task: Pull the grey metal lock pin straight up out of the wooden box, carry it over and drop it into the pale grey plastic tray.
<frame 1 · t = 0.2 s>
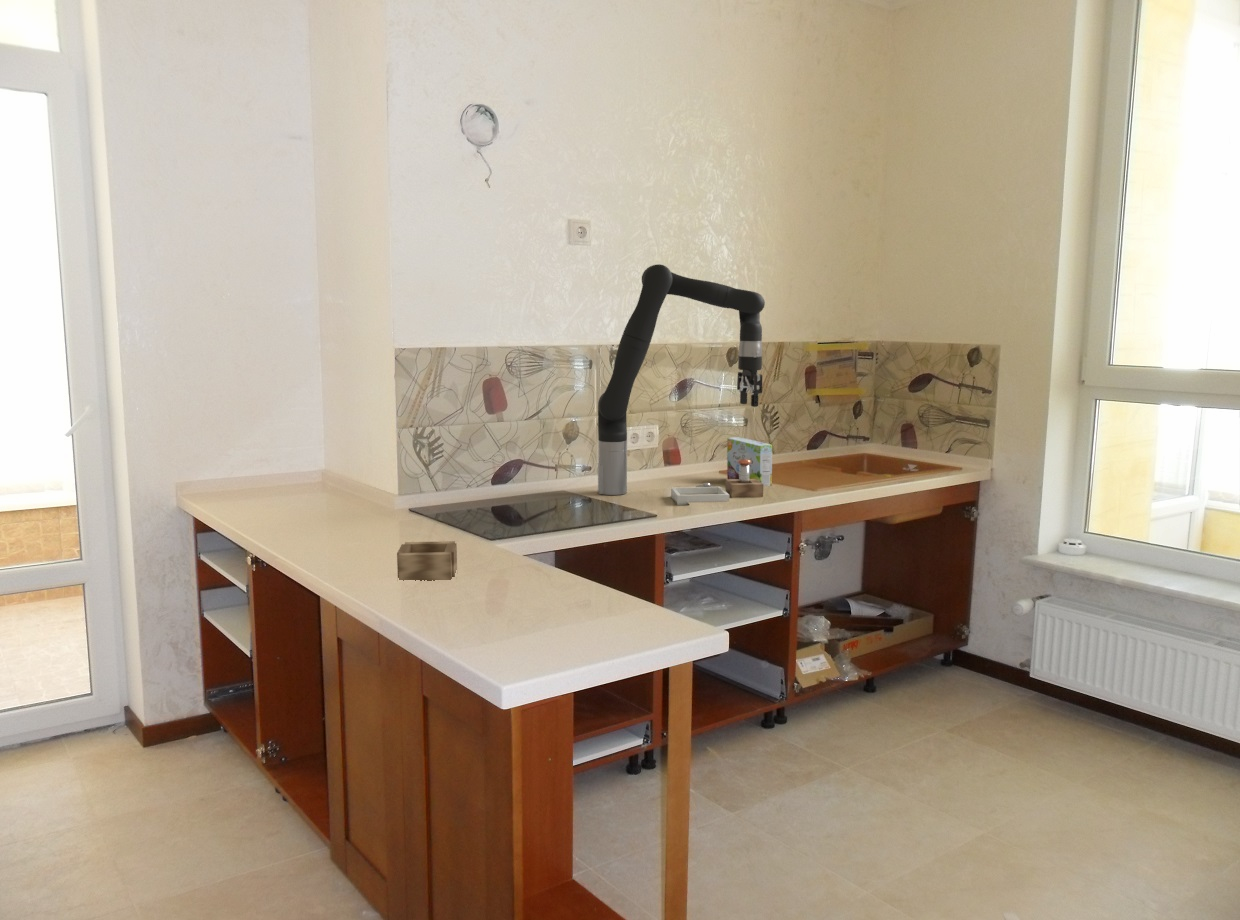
hand: (748, 405, 312), 28 cm above the worktop, fingers open, 8 cm apart
pulley: (706, 494, 310), on the worktop
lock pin: (743, 494, 305), point 1 cm above the worktop, touching wooden box
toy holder: (428, 579, 211), on the worktop
wooden box: (743, 497, 306), on the worktop
tray: (699, 500, 300), on the worktop
snack box: (748, 484, 330), on the worktop
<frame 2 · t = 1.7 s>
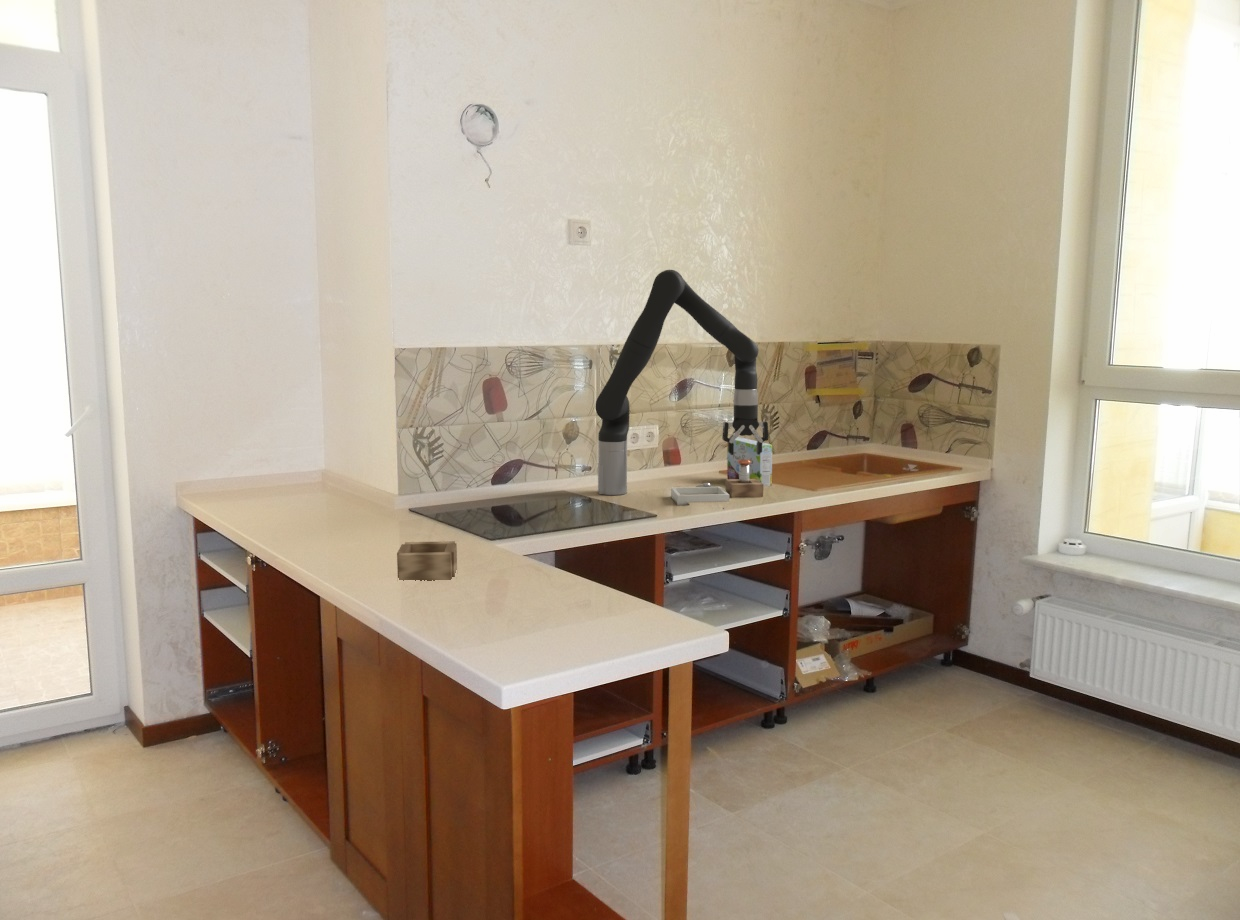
hand: (745, 454, 303), 14 cm above the worktop, fingers open, 8 cm apart
nothing on the worktop moved.
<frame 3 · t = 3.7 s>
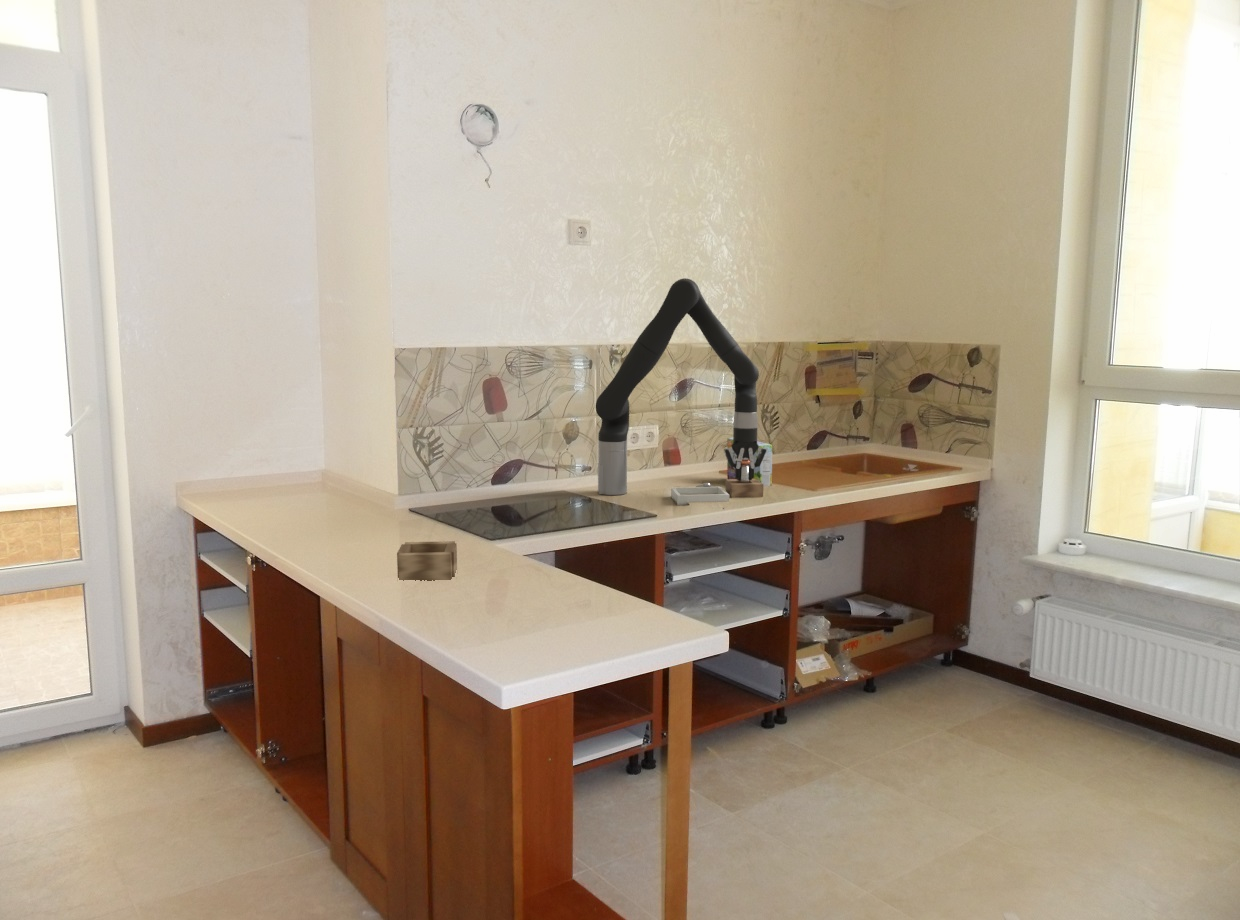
hand: (744, 479, 305), 6 cm above the worktop, fingers closed on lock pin, 3 cm apart
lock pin: (743, 494, 305), point 1 cm above the worktop, touching gripper, wooden box
everything else where it was.
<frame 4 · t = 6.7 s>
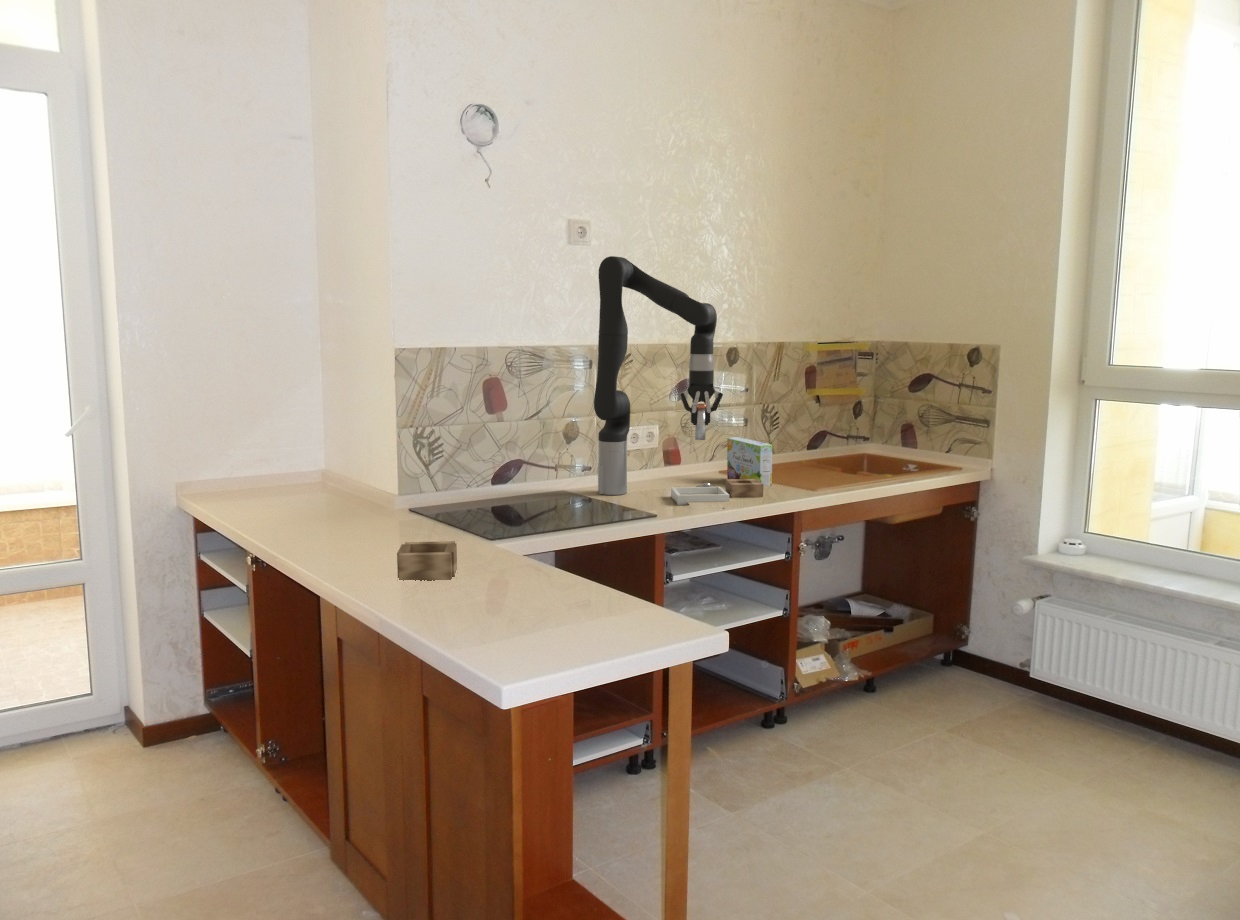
hand: (700, 424, 297), 24 cm above the worktop, fingers closed on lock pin, 3 cm apart
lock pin: (700, 439, 297), point 19 cm above the worktop, touching gripper
everything else where it was.
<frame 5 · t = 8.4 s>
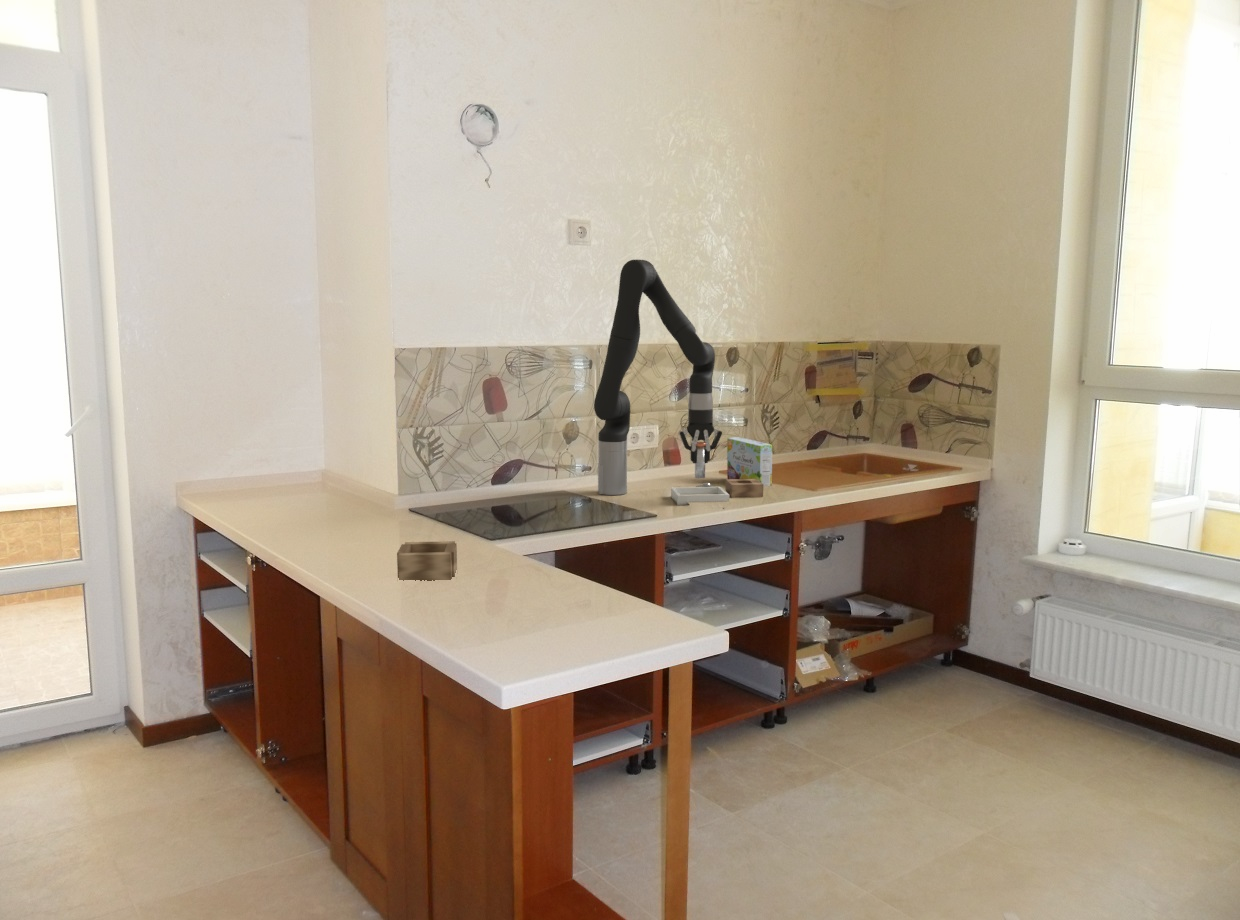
hand: (700, 462, 298), 12 cm above the worktop, fingers closed on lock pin, 3 cm apart
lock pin: (700, 477, 299), point 7 cm above the worktop, touching gripper
everything else where it was.
when the fingers open (8 cm above the worktop, at t = 9.9 s): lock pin drops 2 cm, resting on tray.
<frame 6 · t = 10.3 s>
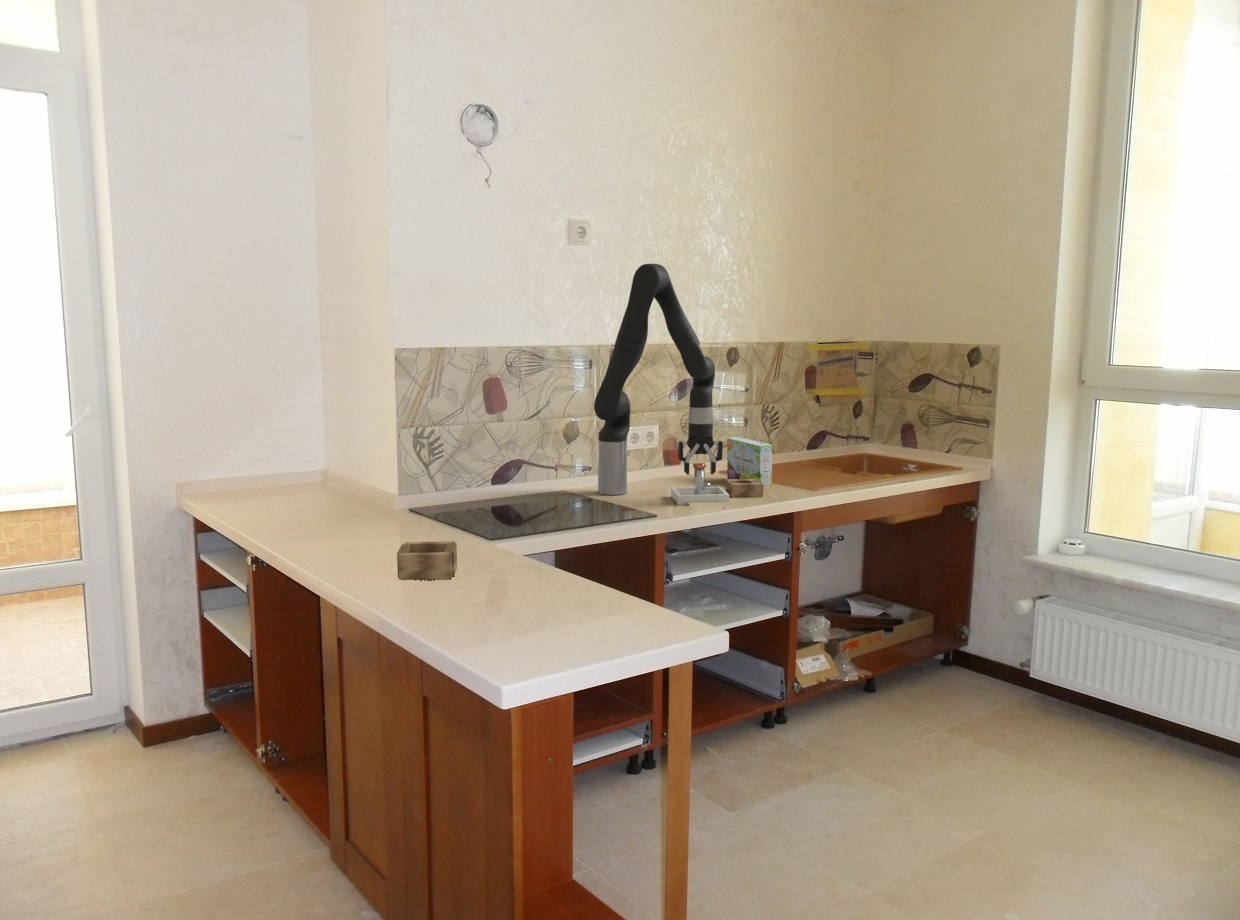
hand: (699, 474, 299), 8 cm above the worktop, fingers open, 7 cm apart
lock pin: (699, 498, 300), point 1 cm above the worktop, touching tray
everything else where it was.
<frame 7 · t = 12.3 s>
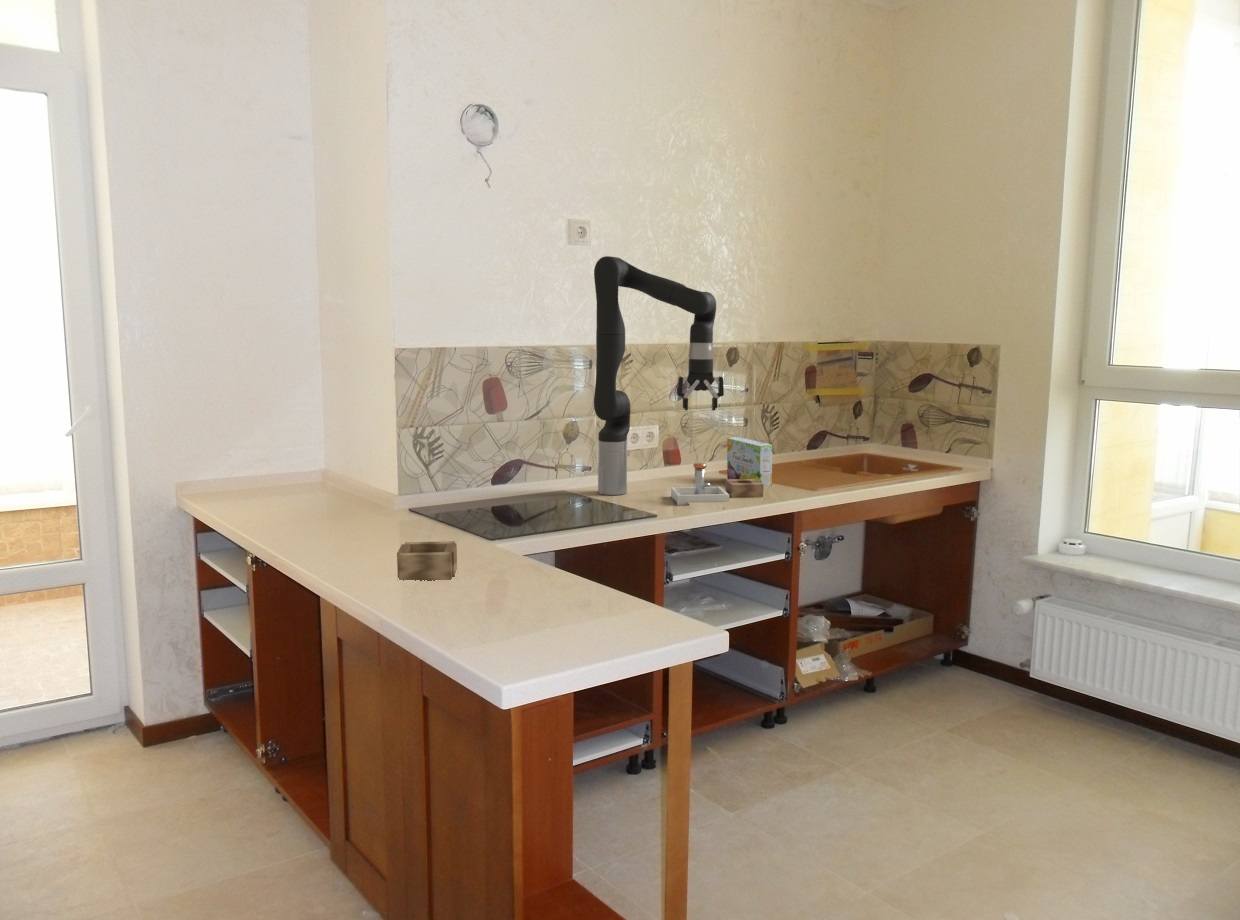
hand: (699, 410, 297), 28 cm above the worktop, fingers open, 8 cm apart
nothing on the worktop moved.
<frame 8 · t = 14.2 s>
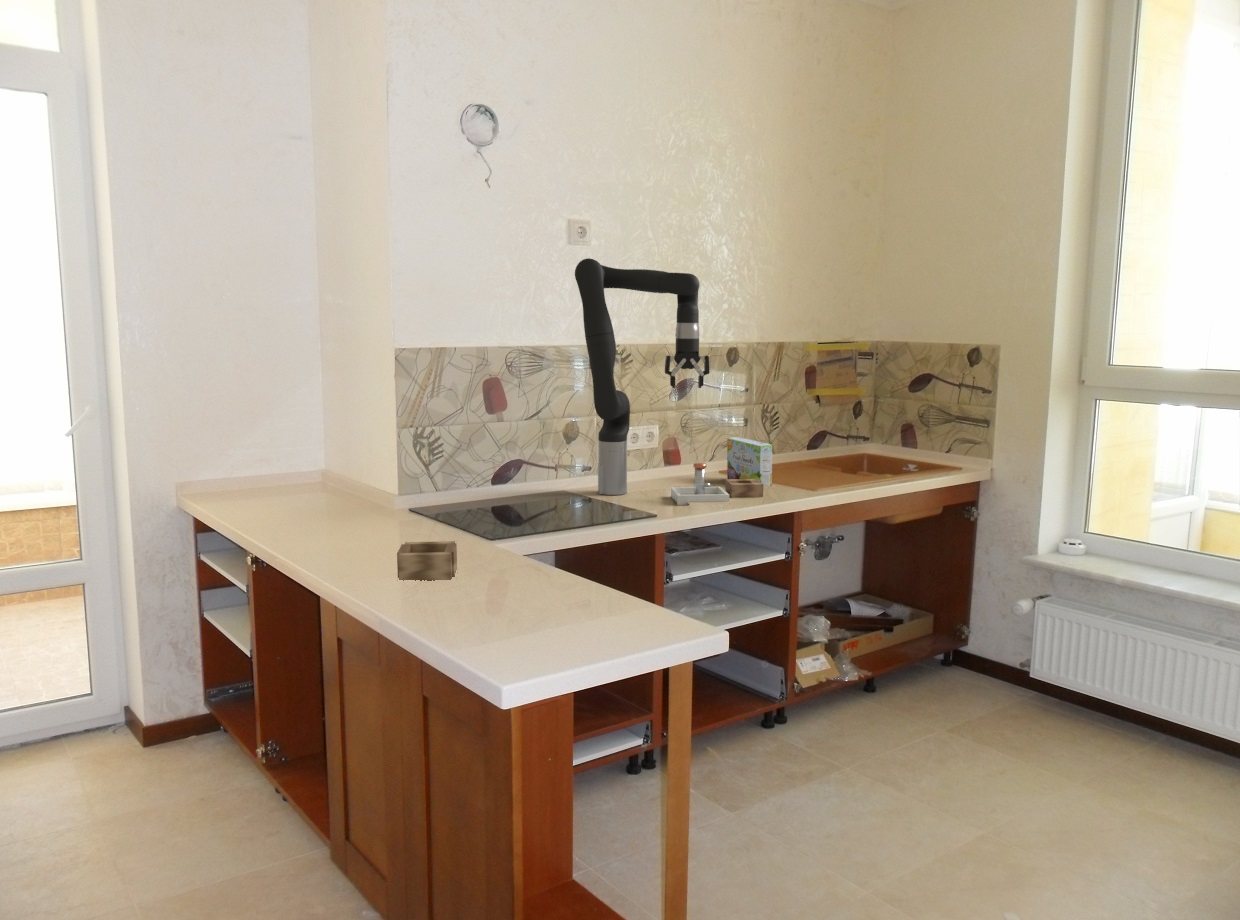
hand: (686, 387, 310), 34 cm above the worktop, fingers open, 8 cm apart
nothing on the worktop moved.
at the end: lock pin inside the target area on the tray (0.0 cm from its centre), point 0.6 cm above the tray's base; the gripper is holding nothing; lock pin touching tray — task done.
